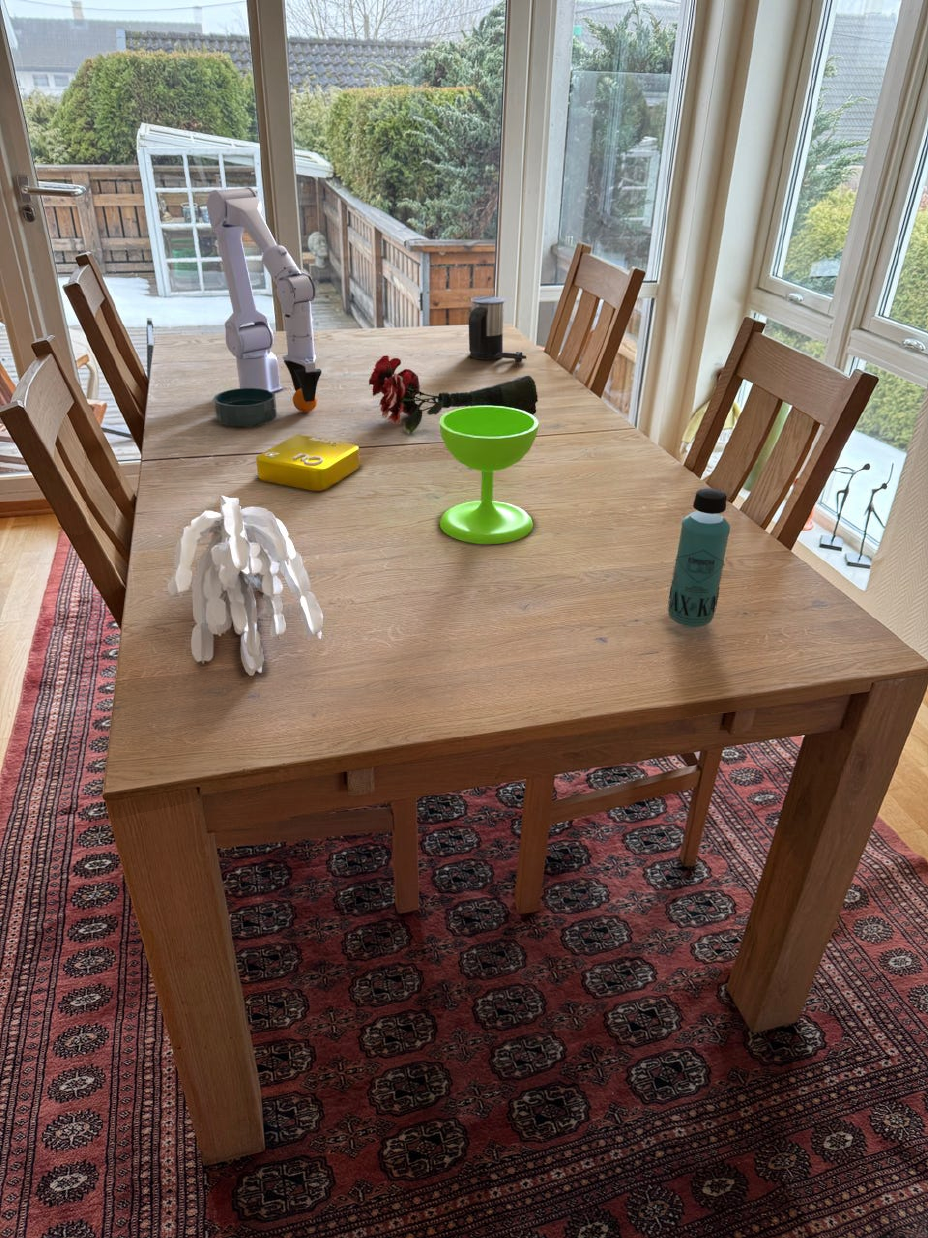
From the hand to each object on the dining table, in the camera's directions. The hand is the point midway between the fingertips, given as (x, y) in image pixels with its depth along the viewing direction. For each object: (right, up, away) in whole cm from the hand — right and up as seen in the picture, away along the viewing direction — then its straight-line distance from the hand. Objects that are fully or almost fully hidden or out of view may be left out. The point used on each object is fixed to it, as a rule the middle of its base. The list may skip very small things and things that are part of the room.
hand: (304, 396), depth 204 cm
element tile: (+6, -22, -29) cm, 37 cm away
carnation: (+33, -6, -2) cm, 34 cm away
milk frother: (+45, +20, +41) cm, 64 cm away
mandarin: (0, -1, 0) cm, 1 cm away
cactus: (+5, -49, -75) cm, 90 cm away
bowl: (-12, -6, -3) cm, 14 cm away
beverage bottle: (+67, -51, -76) cm, 113 cm away
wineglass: (+39, -34, -48) cm, 71 cm away
